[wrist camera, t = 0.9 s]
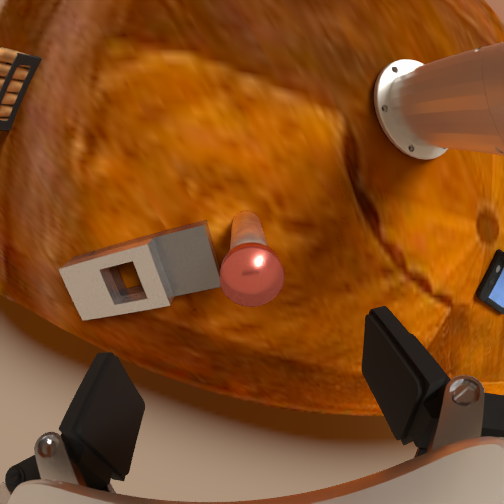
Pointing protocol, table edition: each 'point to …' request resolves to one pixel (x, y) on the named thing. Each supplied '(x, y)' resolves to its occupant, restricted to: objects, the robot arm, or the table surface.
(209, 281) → the chain link
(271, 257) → the pin
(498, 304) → the game console
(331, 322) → the table surface
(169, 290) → the chain link
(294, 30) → the table surface
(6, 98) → the ammunition clip
